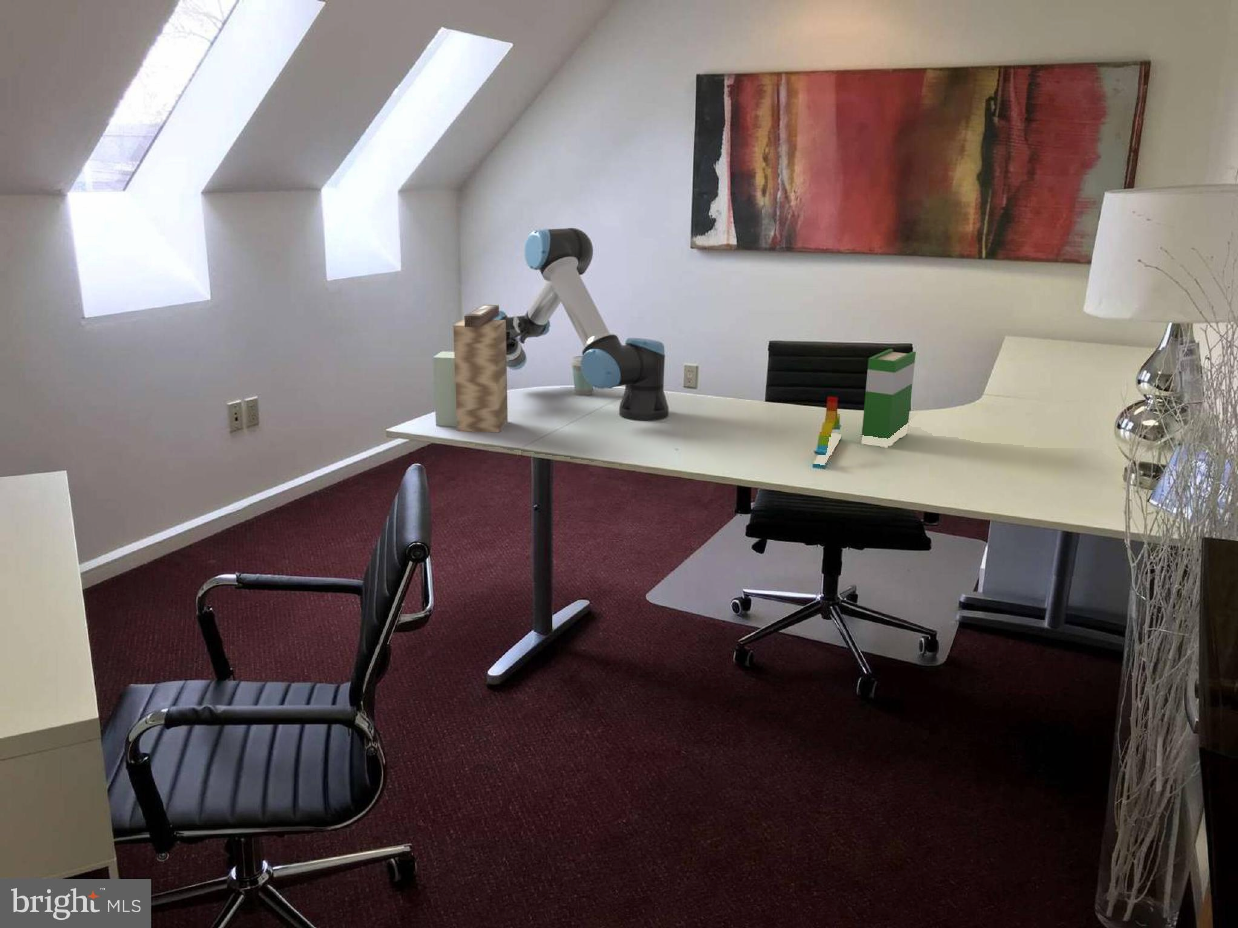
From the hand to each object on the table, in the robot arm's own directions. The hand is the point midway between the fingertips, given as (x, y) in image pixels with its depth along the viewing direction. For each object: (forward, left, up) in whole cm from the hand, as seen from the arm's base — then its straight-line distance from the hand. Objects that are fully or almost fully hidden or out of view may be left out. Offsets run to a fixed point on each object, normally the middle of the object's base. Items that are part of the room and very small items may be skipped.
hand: (492, 319), depth 286 cm
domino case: (-1, +14, +2) cm, 14 cm away
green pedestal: (+9, +14, -28) cm, 33 cm away
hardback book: (-115, +13, -29) cm, 119 cm away
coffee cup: (-24, -29, -29) cm, 47 cm away
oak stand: (-1, +17, -28) cm, 33 cm away
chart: (-98, +29, -29) cm, 106 cm away
